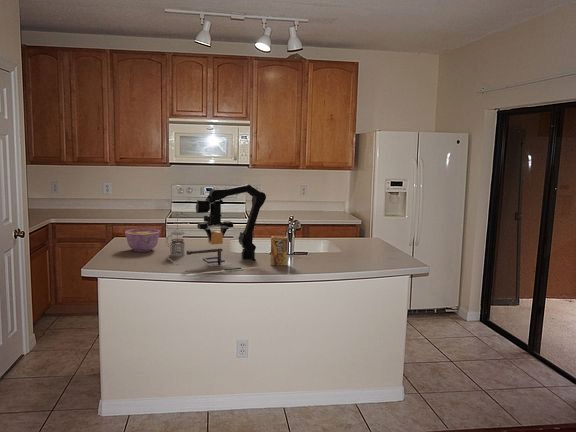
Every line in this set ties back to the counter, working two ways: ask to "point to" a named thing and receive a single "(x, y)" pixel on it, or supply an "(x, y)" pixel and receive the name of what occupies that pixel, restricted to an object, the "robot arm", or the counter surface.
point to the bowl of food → (142, 239)
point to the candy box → (278, 250)
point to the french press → (173, 244)
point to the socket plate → (214, 261)
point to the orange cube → (216, 237)
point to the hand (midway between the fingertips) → (215, 240)
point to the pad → (233, 269)
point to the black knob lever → (207, 252)
